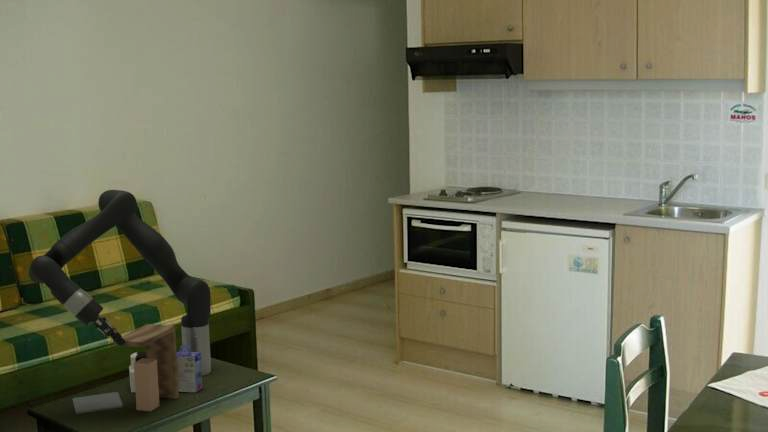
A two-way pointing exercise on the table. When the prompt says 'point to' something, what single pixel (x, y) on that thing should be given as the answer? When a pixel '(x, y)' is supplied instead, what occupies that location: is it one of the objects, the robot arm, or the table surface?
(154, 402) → the terracotta carton
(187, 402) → the table surface
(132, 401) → the table surface
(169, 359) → the walnut shelf
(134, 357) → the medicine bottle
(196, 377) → the ink cartridge box
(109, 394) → the slate mat
